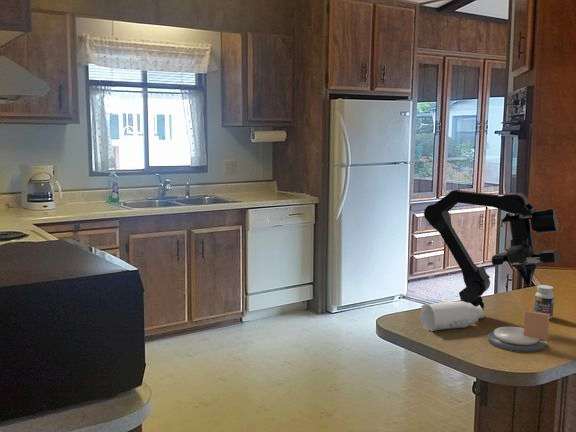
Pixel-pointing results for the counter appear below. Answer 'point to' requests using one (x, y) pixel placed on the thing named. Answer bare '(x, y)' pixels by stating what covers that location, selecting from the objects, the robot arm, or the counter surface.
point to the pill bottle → (544, 300)
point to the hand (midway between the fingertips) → (528, 285)
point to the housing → (515, 347)
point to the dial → (526, 330)
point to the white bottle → (449, 315)
